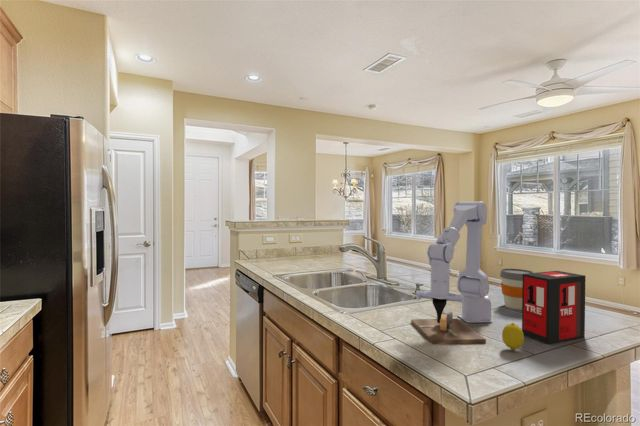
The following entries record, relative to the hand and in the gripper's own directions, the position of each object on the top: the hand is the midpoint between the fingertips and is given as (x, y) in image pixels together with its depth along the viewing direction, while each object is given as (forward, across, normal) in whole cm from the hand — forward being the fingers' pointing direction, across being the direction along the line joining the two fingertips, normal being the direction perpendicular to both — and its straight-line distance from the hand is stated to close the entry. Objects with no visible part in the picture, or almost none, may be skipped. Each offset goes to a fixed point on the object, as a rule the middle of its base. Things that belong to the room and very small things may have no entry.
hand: (439, 322), depth 109 cm
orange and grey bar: (+2, +1, +3) cm, 4 cm away
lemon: (+5, +20, -4) cm, 21 cm away
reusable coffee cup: (+4, +29, +47) cm, 55 cm away
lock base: (+5, +2, +4) cm, 7 cm away
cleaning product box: (+5, +34, +14) cm, 37 cm away
